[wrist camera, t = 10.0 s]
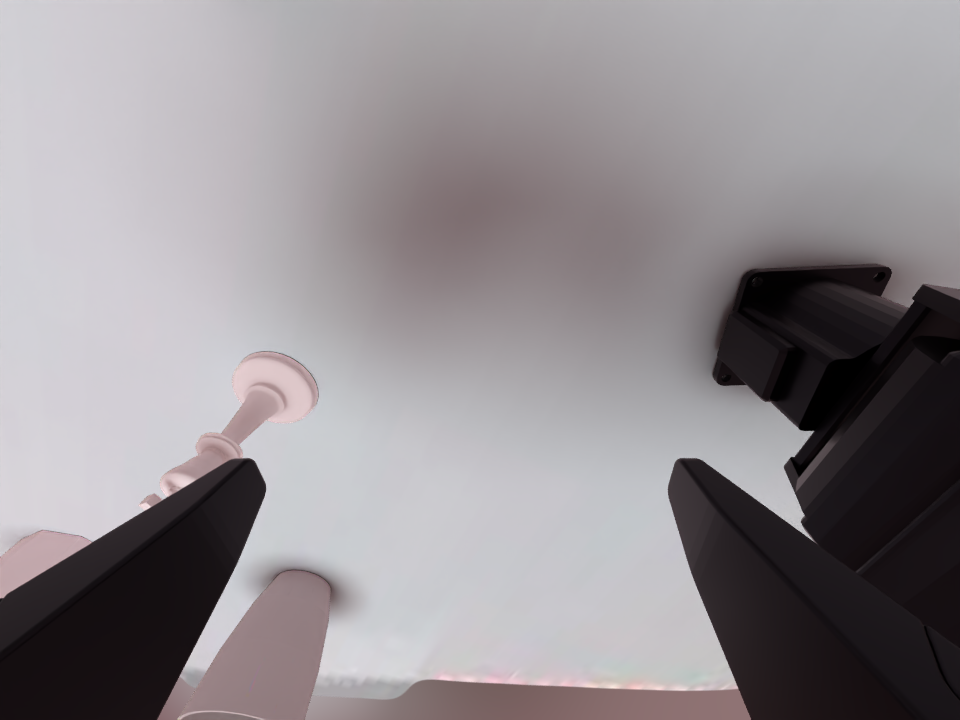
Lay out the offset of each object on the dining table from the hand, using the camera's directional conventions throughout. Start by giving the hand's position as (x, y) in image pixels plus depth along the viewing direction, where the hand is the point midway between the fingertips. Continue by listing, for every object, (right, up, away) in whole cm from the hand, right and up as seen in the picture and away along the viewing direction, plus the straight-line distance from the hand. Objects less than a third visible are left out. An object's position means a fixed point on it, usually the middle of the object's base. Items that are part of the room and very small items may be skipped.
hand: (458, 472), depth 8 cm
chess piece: (-12, +1, +15) cm, 19 cm away
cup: (-16, -18, +26) cm, 36 cm away
